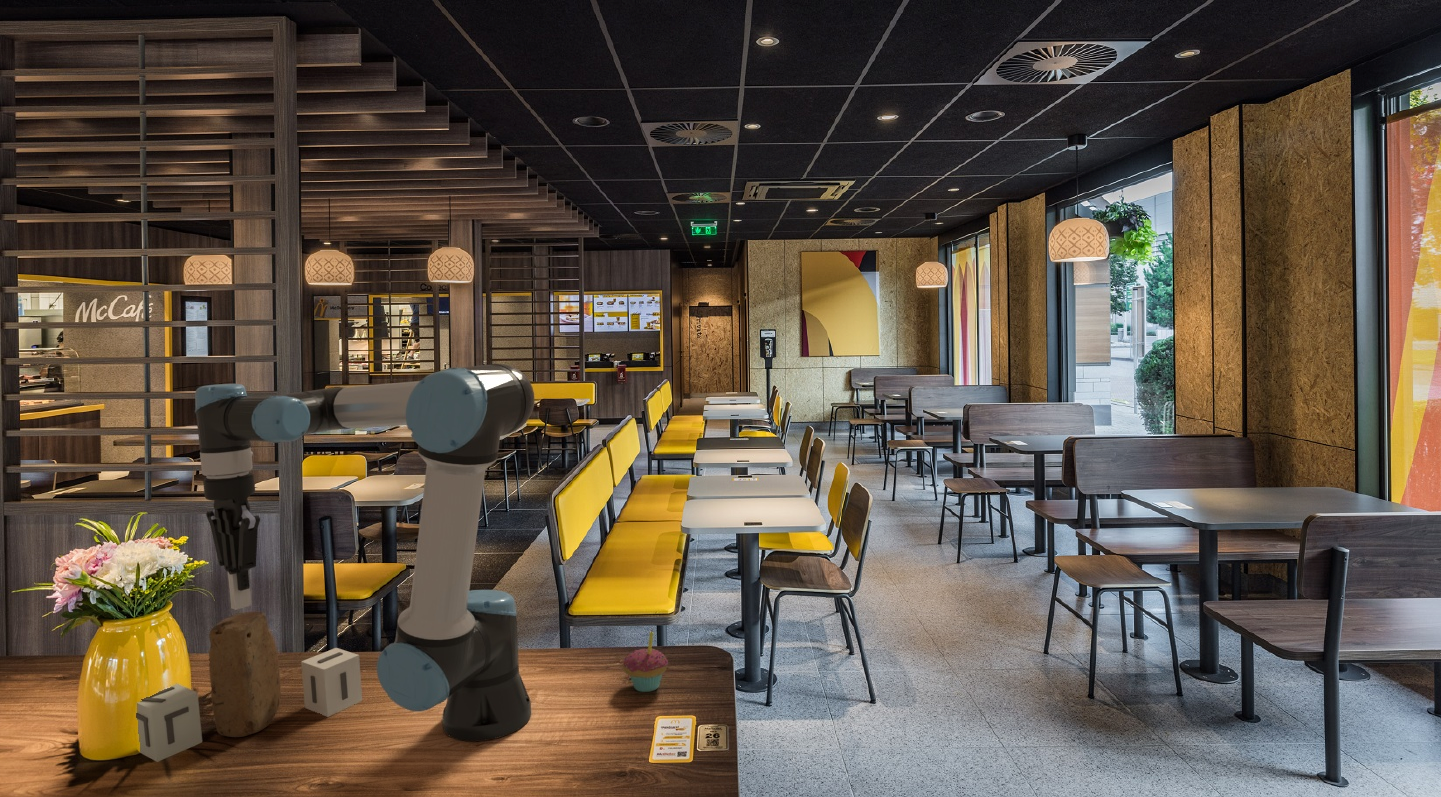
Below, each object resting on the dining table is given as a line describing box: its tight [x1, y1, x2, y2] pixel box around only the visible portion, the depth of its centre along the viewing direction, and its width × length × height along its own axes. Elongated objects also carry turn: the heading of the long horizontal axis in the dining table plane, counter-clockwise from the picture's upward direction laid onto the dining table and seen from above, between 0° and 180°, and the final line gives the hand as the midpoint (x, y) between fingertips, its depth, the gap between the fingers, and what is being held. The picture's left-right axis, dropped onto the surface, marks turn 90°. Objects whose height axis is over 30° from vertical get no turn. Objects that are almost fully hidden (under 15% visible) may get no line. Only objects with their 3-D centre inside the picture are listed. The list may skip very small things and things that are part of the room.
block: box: [208, 610, 282, 738], centre depth 145 cm, size 11×8×20 cm
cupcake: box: [622, 628, 669, 693], centre depth 156 cm, size 9×8×12 cm
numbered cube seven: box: [136, 683, 203, 763], centre depth 138 cm, size 7×7×9 cm
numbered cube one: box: [300, 647, 363, 718], centre depth 152 cm, size 7×7×9 cm
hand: (241, 606), depth 143 cm, fingers closed
